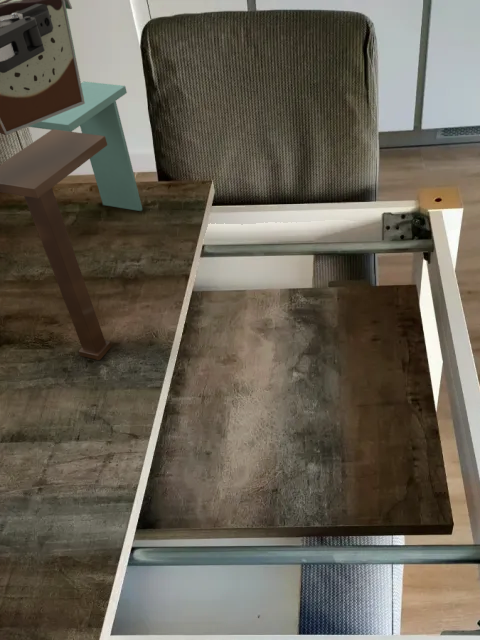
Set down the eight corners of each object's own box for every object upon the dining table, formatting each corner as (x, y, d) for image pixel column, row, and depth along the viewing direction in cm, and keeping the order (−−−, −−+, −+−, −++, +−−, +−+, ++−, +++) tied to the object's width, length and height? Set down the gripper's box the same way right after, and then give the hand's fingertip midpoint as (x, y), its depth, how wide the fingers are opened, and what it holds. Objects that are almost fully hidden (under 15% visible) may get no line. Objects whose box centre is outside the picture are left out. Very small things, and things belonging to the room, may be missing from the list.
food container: (57, 89, 69) (23, -24, 62) (96, 99, 67) (65, -18, 59) (-47, 128, 62) (-99, 6, 55) (-8, 141, 60) (-57, 14, 53)
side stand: (51, 352, 81) (-23, 179, 65) (106, 295, 89) (52, 129, 72) (98, 363, 79) (34, 188, 63) (150, 304, 87) (105, 135, 71)
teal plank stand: (65, 237, 99) (23, 119, 86) (115, 194, 108) (83, 81, 95) (104, 245, 97) (68, 124, 84) (152, 200, 106) (125, 85, 93)
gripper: (-77, 25, 45) (66, -32, 55) (-229, 11, 48) (-68, -40, 59) (-32, 136, 50) (90, 65, 61) (-172, 116, 54) (-33, 52, 65)
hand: (12, 13), depth 60 cm, fingers closed on food container, 7 cm apart
